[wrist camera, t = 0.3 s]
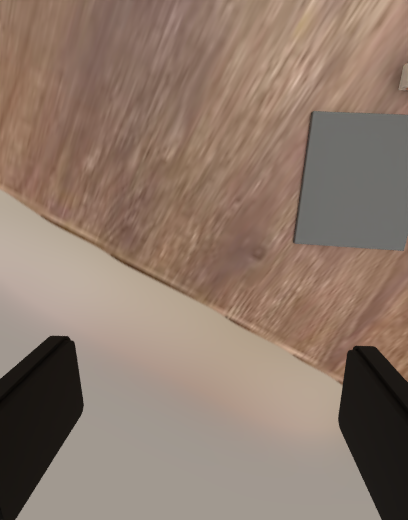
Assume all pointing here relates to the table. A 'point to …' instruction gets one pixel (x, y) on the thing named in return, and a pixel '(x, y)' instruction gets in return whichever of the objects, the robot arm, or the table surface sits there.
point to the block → (404, 78)
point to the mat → (355, 181)
